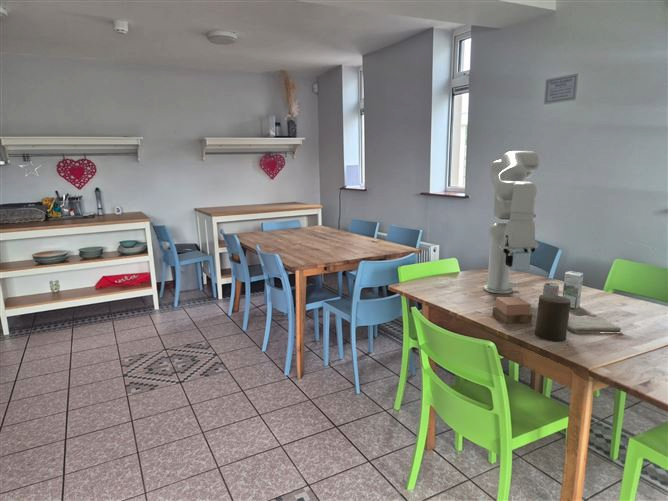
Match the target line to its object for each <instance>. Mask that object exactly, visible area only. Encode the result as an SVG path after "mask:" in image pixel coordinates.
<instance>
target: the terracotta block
mask: <svg viewBox="0 0 668 501" xmlns="http://www.w3.org/2000/svg"><path fill="white" fill-rule="evenodd" d="M494 303H495V306H494V307H496V308H497V309H499V310H500V311H501V312H503V313H504V314H505V315H530V314H531V306H532V305H531V303H529V302H528V301H526V300H524V299H523V298H521V297H520V296H497V297H496V296H495V302H494Z"/></svg>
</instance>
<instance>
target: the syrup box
mask: <svg viewBox="0 0 668 501" xmlns="http://www.w3.org/2000/svg"><path fill="white" fill-rule="evenodd" d="M583 281H584V273H583V272H579V271H578V272H577V271H573V270H567V271H566V272H565V273H564V280H563V287H562V288H563V289H562V295H561V296H562V297H566V298H569V299H570V300H571V304H570V309H572V308H574V309H573V310H577V309H578V308H579V307H580V304H581V295H582V288H583ZM576 308H577V309H576Z"/></svg>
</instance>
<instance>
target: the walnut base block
mask: <svg viewBox="0 0 668 501" xmlns="http://www.w3.org/2000/svg"><path fill="white" fill-rule="evenodd" d="M492 317H494V318H496V319H497V320H498V321H500V322H501V323H503V324H504V325H506V326H508V325H510V326H511V325H513V326H514V325H528V324H529V325H531V324H532V320H533V314H532V313H530V315H505V314H504V313H503V312H501V311H500V310H499V309H497V308H496V307H495V306H493V307H492Z"/></svg>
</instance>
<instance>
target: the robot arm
mask: <svg viewBox="0 0 668 501" xmlns="http://www.w3.org/2000/svg"><path fill="white" fill-rule="evenodd" d="M539 165H540V158H539V155H538V153H537V152H535V151H533V150H532V151H531V150H512V151H508V152H506V153H504V154H503V155H502V156H501V159H498V160H495V161H493V162H492V163H491V165H490V171H489V173H490V179H491V183H492V185H493V190H494V194H493V216H494V218H495V219H496V220H498V221H506V223H505V222H497V223H494V224H492V225H491V226H490V228H489V231H488V233H489V258H488V271H487V284H485V285H484V284H483V290H484V291H486V292H488V293H492V294H501V295H503V294H504V295H505V294H507V295H508V294H511V293H512V292H513V287H519V286H520V283H519V282H518V281H517V282H516V281H514V282H513V281H510V277H511V269H510V268H508V267H505V263H506V265H507V266H509V267H511V266H512V259H513V256H511V255H512V253H513V251H514V250H515V249H523V251H525V252H528V253H531V256H532V255H533V253H534V252H535V251H536V250H537V248H539V246H540V244H539V243H538V241H537V240H536V227H535V221H533V220H534V218H536V216H537V215H536V213H534V212H535V211H534V210H535V200H536V199H535V198H536V195H537V192H538V191H537V186H536V184H535V183H534V182H532V181H525V180H528V179H529V180H530V178H531V177H532V176H533V175H534V174H535V173H536V172H537V170H538V168H539ZM523 180H524V181H523Z"/></svg>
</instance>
